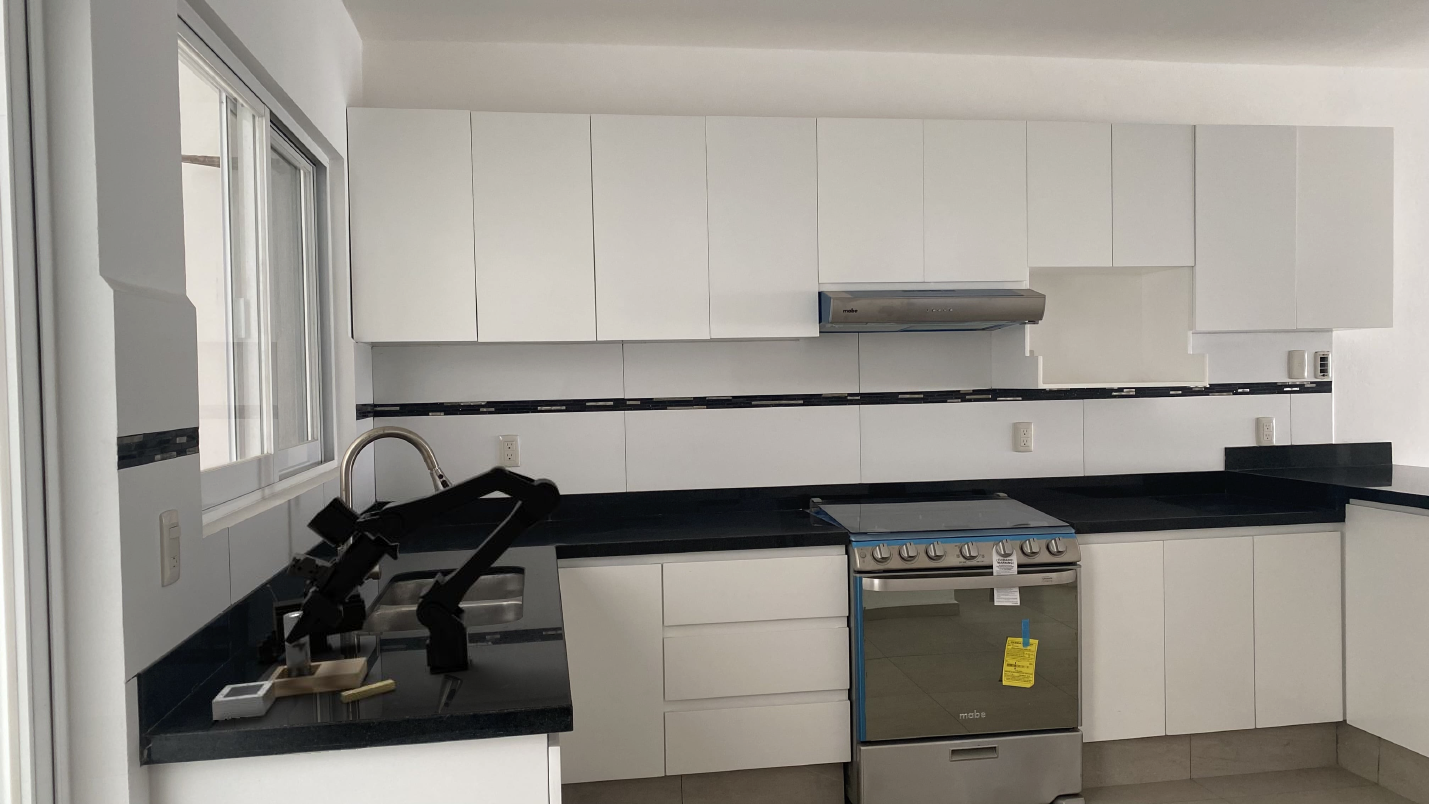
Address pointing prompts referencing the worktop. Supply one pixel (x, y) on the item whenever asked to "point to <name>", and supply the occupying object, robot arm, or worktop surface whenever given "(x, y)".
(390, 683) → the bar
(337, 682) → the wooden box
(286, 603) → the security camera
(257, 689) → the socket block
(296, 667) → the tin canister
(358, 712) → the worktop surface
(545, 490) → the robot arm
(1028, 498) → the worktop surface
